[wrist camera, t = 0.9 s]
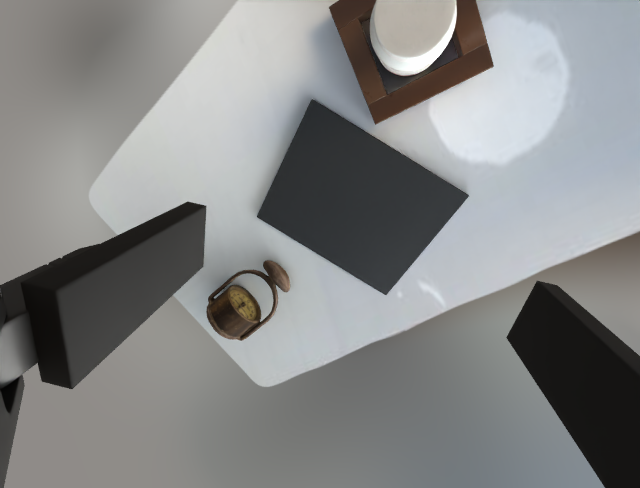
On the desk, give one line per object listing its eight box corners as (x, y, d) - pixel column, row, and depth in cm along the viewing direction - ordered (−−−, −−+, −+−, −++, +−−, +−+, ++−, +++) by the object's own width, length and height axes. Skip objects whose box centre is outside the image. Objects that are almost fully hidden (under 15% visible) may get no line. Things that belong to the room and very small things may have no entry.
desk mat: (468, 195, 34) (469, 196, 34) (386, 293, 42) (386, 295, 41) (312, 99, 34) (311, 99, 34) (257, 215, 41) (256, 216, 41)
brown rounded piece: (182, 287, 42) (207, 354, 44) (255, 270, 37) (282, 347, 38) (218, 271, 49) (238, 329, 50) (285, 254, 43) (307, 320, 44)
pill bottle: (397, -12, 28) (395, -72, 18) (457, 19, 28) (488, -25, 18) (365, 60, 31) (348, 42, 21) (420, 88, 31) (428, 83, 21)
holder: (486, 69, 29) (493, 66, 27) (377, 123, 33) (375, 124, 31) (450, -64, 26) (454, -79, 24) (333, 13, 30) (328, 7, 28)
